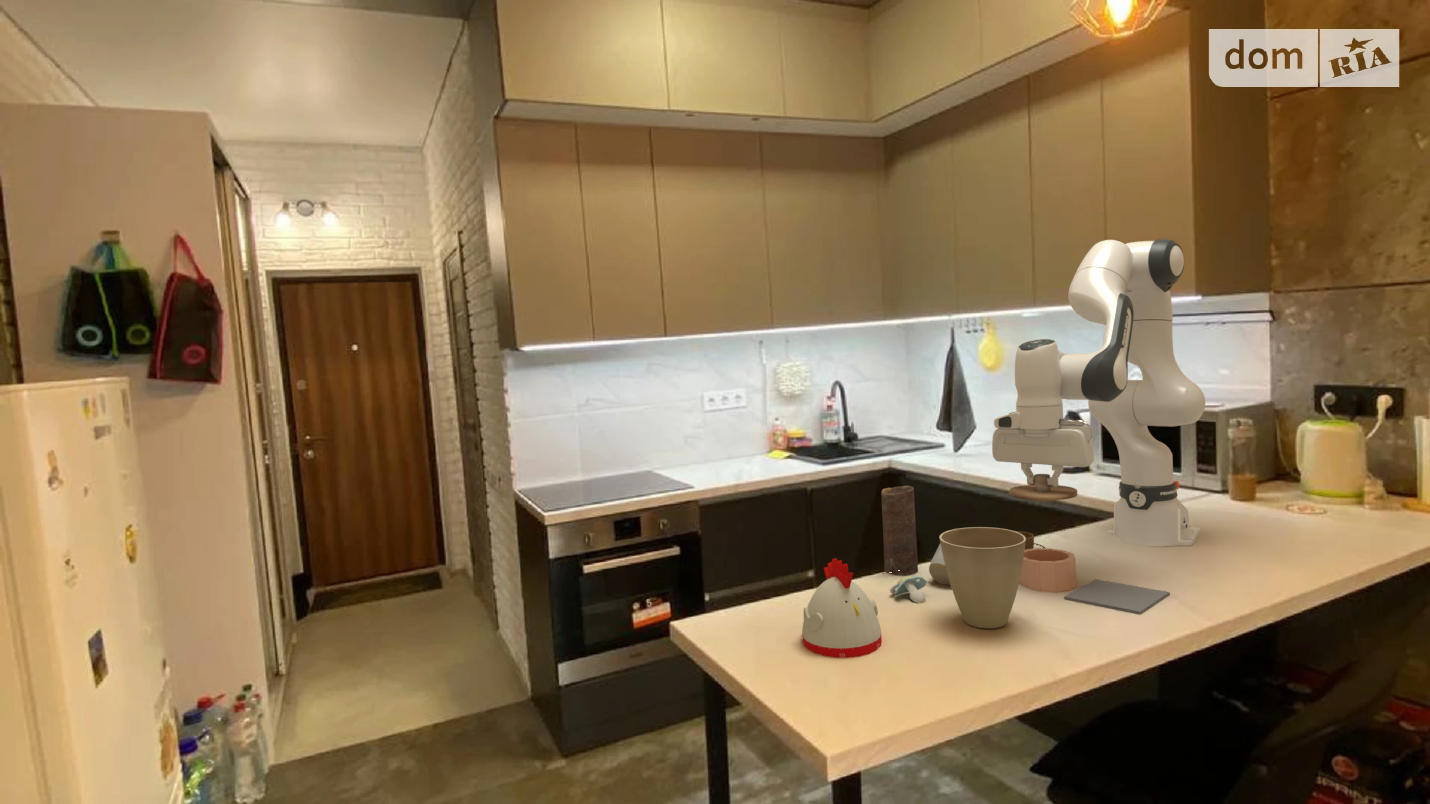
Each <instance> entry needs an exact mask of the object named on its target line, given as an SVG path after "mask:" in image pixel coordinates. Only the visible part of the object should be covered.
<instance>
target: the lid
mask: <svg viewBox="0 0 1430 804" xmlns="http://www.w3.org/2000/svg"><path fill="white" fill-rule="evenodd" d="M1033 475H1034V482H1035V485H1028V484H1027V485H1019V486H1014V487H1011V488H1009V489H1008V494H1009V496H1010V497H1013V498H1015V499H1020V500H1026V501H1032V502H1043V503H1044V502H1057V501H1061V500H1062V501H1063V500H1069V499H1073V498H1076V497H1077V496H1078V495H1079V494H1078V489H1077V488H1075V487H1071V486H1068V485H1067V486H1066V485H1060V484H1058V486H1057V487H1049V486H1048V485H1047V483H1048V482H1047V478H1050V477H1051V475H1050V474H1048V473H1036V474H1033Z"/></svg>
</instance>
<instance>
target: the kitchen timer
mask: <svg viewBox="0 0 1430 804" xmlns="http://www.w3.org/2000/svg"><path fill="white" fill-rule="evenodd" d="M823 571H824V575H825V578H826V579H825V580H824V581H823V582H822V583H821V584H820V585H819V586H818V587H817V588H816V590H815V591H814V592H813V594H812V596H811V597H810V600H809V602H808V605H807V607H806V606H805V607H803V624H802V631H801V636H802V642H803V646H804V647H805V648H806V649H807V650H809V651H811V652H812V653H815V654H818V655H821V656H824V657H830V658H839V659H840V658H845V659H846V658H847V659H849V658H850V659H851V658H856V657H857V658H858V657H862V656H863V657H864V656H866V655H867V656H868V655H870V654H872V653H873V652H874V653H875V652H876V651H877V650H878V649H880V648H881V646H882V642H883V641H882V640H883V639H882V630H881V629H882V628H881V626H880V621H879V618H878V612H879V611H878V606H877V602H876V601H875V600H874V599H869V597H868V596H867V593H865V591H864V590H863V589H862V588H861V587H860V585H858V584H857V583H855V582H854V581H853V574H854V572H849V566H848V563H844V564H843V562H842V560H841V559H840V560H838V558H836V557H835V558H832V559H831V562H828V563H827V567H826V566H825V567H823Z"/></svg>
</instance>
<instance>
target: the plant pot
mask: <svg viewBox="0 0 1430 804" xmlns="http://www.w3.org/2000/svg"><path fill="white" fill-rule="evenodd" d="M1018 532H1019V531H1016V530H1011V529H1006V528H999V527H987V526H986V527H985V526H983V527H982V526H977V527H976V526H974V527H972V526H971V527H962V528H959V527H958V528H954V529H950V530H946V531H944V532H942V533H941V534H940V535H938V536H939V542H940V543H941V548H942V554H943V559H944V563H945V567H946V571H947V574H948V578H949V581H950V585H949V586H950V588H951V590H952V593H953V595H954V599H955V602H956V604H957V606H958V610H959V612H960V613H961V615H962V618H963V620H964V622H965V623H966V624H967V625H969V626H970V627H974V628H980V629H997V628H1001V627H1004V626H1006V624H1007V623H1008V620H1009V618H1010V615H1011V611H1012V609H1013V605H1014V603H1015V599H1016V598H1017V597H1016V596H1017V591H1018V588H1019V585H1020V584H1019V581H1020V576H1021V571H1022V565H1023V558H1024V550H1025V542H1026V538H1025V536H1024V535H1022V534H1020V533H1018ZM940 543H939V544H940Z"/></svg>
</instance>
